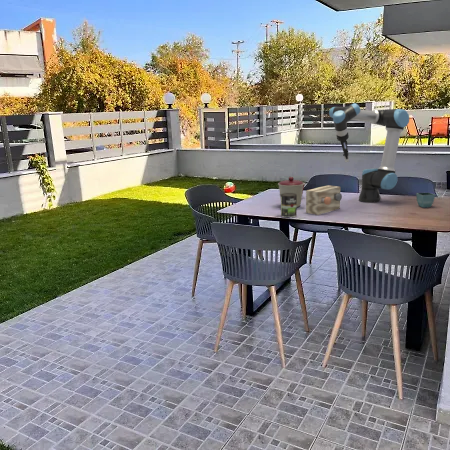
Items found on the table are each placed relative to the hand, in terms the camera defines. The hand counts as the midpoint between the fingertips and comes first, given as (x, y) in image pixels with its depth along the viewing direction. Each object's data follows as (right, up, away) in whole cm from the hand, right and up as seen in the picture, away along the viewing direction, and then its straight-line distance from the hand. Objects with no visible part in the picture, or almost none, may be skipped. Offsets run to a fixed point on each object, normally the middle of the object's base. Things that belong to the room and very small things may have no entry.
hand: (347, 161), depth 310 cm
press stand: (-18, -34, -6) cm, 39 cm away
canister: (-37, -31, +10) cm, 49 cm away
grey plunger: (-11, -27, -4) cm, 29 cm away
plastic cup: (-27, -23, +38) cm, 52 cm away
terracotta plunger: (-21, -30, -14) cm, 39 cm away
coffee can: (-42, -38, -16) cm, 59 cm away
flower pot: (+51, -32, -5) cm, 60 cm away
